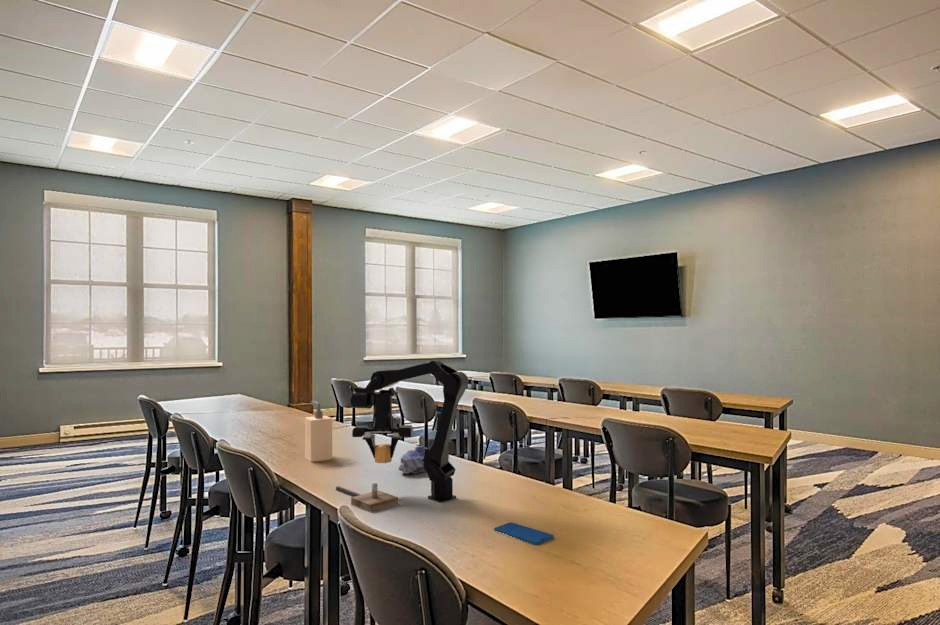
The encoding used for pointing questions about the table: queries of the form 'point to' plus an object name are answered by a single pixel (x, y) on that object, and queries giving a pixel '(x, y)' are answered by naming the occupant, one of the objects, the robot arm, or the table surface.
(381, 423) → the robot arm
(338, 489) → the bar
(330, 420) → the soap dispenser
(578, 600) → the table surface
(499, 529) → the smartphone
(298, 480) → the table surface
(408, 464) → the mineral
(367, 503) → the peg block
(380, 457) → the orange domed octagonal post
